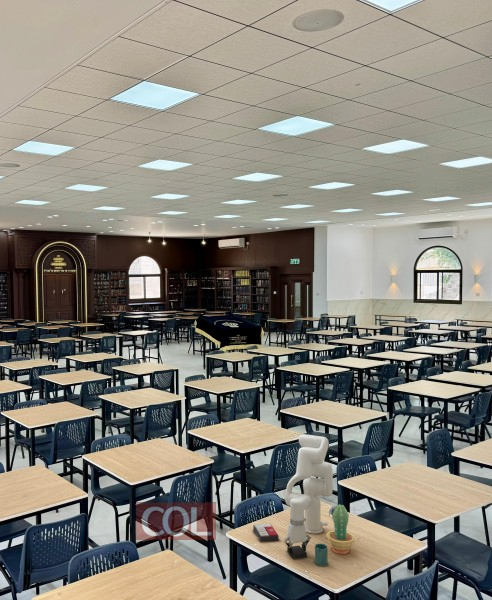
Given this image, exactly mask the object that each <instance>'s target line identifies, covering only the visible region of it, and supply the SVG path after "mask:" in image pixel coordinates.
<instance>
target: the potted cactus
mask: <svg viewBox="0 0 492 600" xmlns="http://www.w3.org/2000/svg"><path fill="white" fill-rule="evenodd" d="M347 510H348V509H346V507H345V505H344V504H340V503H339V504H336V505H332V506H331V507H330V508H329V510H328V516H329V517H331V519H332V522H333V530H330V531H328V532H327V533H326V538H327V540H328V542H329V544H330V546H331V547H332V549H331V550H332V551H333V552H334V553H336V554H341V555H346V554H349V552H350V549H351V547H352V545H353V544H354V542H355V539H356V536H355V535H354V534H352V533H351V532H349V531H347V527H348V523H349V517H350V516H349V513H348V511H347Z"/></svg>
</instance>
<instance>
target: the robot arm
mask: <svg viewBox="0 0 492 600" xmlns="http://www.w3.org/2000/svg"><path fill="white" fill-rule="evenodd" d="M329 442H330V441H329V439H328V437H325V436H323V435H315V434H304V433H303V434H300V435H299V436H298V443H299V445H300V448H299V449H298V452H297V462H296V468H295V469H296V470H295V474H294V475H293V476H292V477H291V478H290V479H289V480H288V483H287V485H286V488H285V500H284V501H285V504H286V505H287V506H288V507H289V510H290V511H289V523H288V525H287V531H286V537H285V538H283V540H282V541H283V543H284V544H285V545H286V546H287V547H288V552H287V553H288V554H289V555H290V556H291V555H292V546H294V544H299V543H301V548H302V549H303V550H305V551H306V552H307V546H308V544H309V542H310V540H311V539H312V537H311V536H310V535H309V534H314V535H315V534H316V535H317V534H318V535H319V534H321V533H323V532H324V527H326V526H327V527H328V526H329V522H328V521H325V522H324V521H323V520H322V521H321V517H322V516H321V508H322V507H321V506H322V503H321V498H320V497H319V496H322V497H331V496H332V495H333V491H334V475H333V474H334V471H333V470H334V469H333V466H332V464H331V463H330V462H327V461H325V458H326V456H327V452H328V450H329V444H330V443H329ZM300 481H303V482H302V487H303V493H299V492H293V488H294V486H295V484H296V483H298V482H300Z"/></svg>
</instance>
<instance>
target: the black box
mask: <svg viewBox="0 0 492 600" xmlns="http://www.w3.org/2000/svg"><path fill="white" fill-rule="evenodd" d="M286 552H287V553H288V546H287V548H286ZM290 556H291V557H292V559H294V560H299V559H305V558H308V552H307V550H306V551H305V550H303V549H302V546H301V545H292V555H290Z"/></svg>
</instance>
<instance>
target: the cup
mask: <svg viewBox="0 0 492 600" xmlns="http://www.w3.org/2000/svg"><path fill="white" fill-rule="evenodd" d="M328 549H329V547H328V545H326V543H325V544H324V543H316V544H315V545H314V564H316V565H317V566H318V567H319V566H320V567H326V566H328V563H329V562H328V559H329V558H328V555H329V554H328V553H329V551H328Z"/></svg>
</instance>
